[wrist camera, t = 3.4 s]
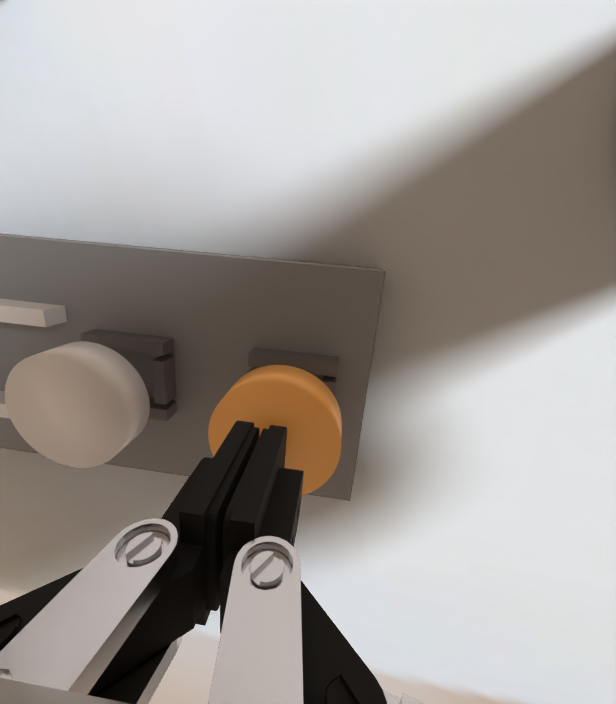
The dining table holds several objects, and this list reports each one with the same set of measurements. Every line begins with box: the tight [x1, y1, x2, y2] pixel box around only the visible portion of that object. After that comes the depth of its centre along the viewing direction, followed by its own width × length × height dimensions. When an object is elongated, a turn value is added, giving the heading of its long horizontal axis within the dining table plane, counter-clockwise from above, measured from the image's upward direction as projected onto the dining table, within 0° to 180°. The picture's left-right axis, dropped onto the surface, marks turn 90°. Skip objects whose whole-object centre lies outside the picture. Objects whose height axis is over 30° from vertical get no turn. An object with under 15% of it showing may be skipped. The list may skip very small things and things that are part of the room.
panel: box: [0, 234, 385, 501], centre depth 17 cm, size 27×12×3 cm, turn 85°
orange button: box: [208, 365, 342, 496], centre depth 13 cm, size 5×5×3 cm
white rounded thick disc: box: [5, 341, 150, 468], centre depth 13 cm, size 5×5×3 cm
